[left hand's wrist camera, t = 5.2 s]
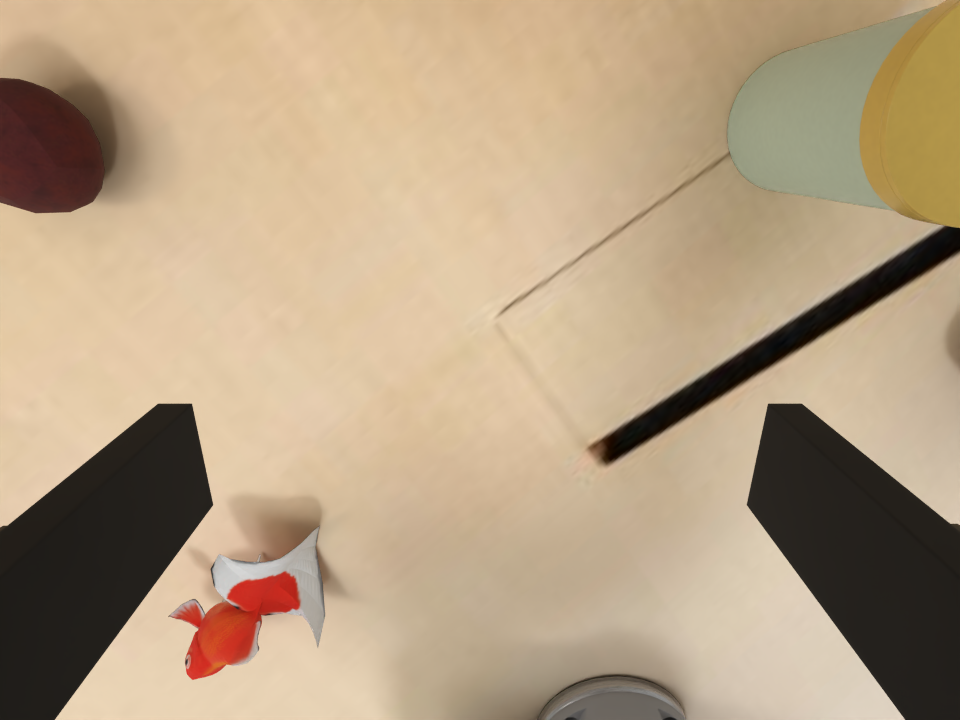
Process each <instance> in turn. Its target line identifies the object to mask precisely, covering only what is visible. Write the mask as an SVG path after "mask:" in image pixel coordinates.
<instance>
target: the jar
mask: <svg viewBox="0 0 960 720" xmlns="http://www.w3.org/2000/svg"><path fill="white" fill-rule="evenodd" d="M935 7H937V6H935ZM935 7H932V8H929V9H925V10H922V11H919V12H915V13H912V14H909V15H905V16H902V17H899V18H895V19H892V20H889V21H885V22H882V23H879V24H875V25H872V26H869V27H865V28H862V29H859V30H855V31H852V32H849V33H845V34H842V35H839V36H835V37H832V38H829V39H825V40H822V41H819V42H816V43H812V44H809V45H806V46H802V47H799V48H796V49H792V50H789V51H786V52H783V53H781V54H779V55H777V56H775V57H773V58H771V59H770V60H768V61H767V62H765V63H764V64H763V65H761V66H760V67H759V68H758V69H757V70H756V71H755V72H754V73H753V74H752V75H751V76H750V77H749V78H748V80H747V81H746V82H745V83H744V85H743V86H742V88H741V89H740V91H739V93H738V95H737V97H736V99H735V101H734V103H733V106H732V109H731V112H730V116H729V120H728V129H727V141H728V147H729V151H730V155H731V158H732V160H733V162H734V164H735V166H736V168H737V169H738V171H739V172H740V173H741V174H742V175H743V176H744V177H745V178H746V179H747V180H748V181H749V182H751V183H752V184H754V185H756V186H758V187H760V188H763V189H766V190H771V191H776V192H782V193H788V194H794V195H801V196H807V197H813V198H819V199H825V200H831V201H837V202H844V203H850V204H856V205H862V206H868V207H874V208H880V209H887V210H893V209H891V208H890V207H889V206H888V205H887V204H885V203H884V202H883V201H882V200H881V199H880V197H879V196H878V195H877V194H876V193H875V191H874V190H873V188H872V186H871V185H870V183H869V181H868V179H867V177H866V174H865V171H864V169H863V165H862V160H861V155H860V144H859V136H860V123H861V117H862V112H863V108H864V104H865V101H866V98H867V94H868V92H869V89H870V87H871V85H872V82H873V80H874V78H875V76H876V74H877V72H878V70H879V69H880V67H881V65H882V63H883V62H884V60H885V59H886V57H887V56H888V54H889V53H890V51H891V50H892V48H893V47H894V46H895V45H896V44H897V42H898V41H899V40H900V39H901V38H902V36H903V35H904V34H905V33H906V32H907V31H908V30H909V29H910V28H911V27H912V26H913V25H914V24H915V23H916V22H917V21H918V20H919V19H921V18H922V17H923V16H924V15H926V14H927V13H928V12H930V11H931V10H932V9H933V8H935ZM893 211H895V210H893Z"/></svg>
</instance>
